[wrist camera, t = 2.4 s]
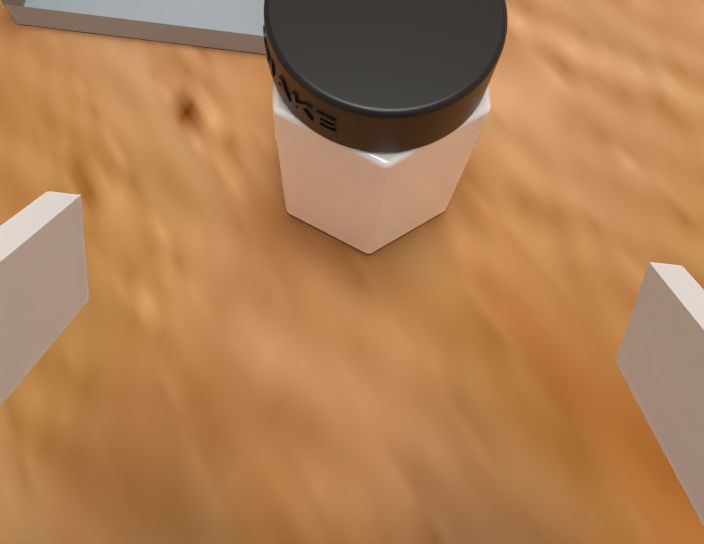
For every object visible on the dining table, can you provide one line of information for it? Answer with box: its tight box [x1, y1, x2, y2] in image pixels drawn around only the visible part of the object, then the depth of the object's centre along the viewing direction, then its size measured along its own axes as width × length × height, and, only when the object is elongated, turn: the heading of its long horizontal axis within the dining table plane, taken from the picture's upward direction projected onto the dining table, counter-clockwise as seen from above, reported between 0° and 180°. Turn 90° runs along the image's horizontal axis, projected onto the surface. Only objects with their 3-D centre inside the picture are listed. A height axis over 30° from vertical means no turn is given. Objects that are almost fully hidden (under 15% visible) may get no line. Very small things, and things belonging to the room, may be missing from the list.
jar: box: [263, 0, 507, 254], centre depth 28 cm, size 9×8×12 cm
